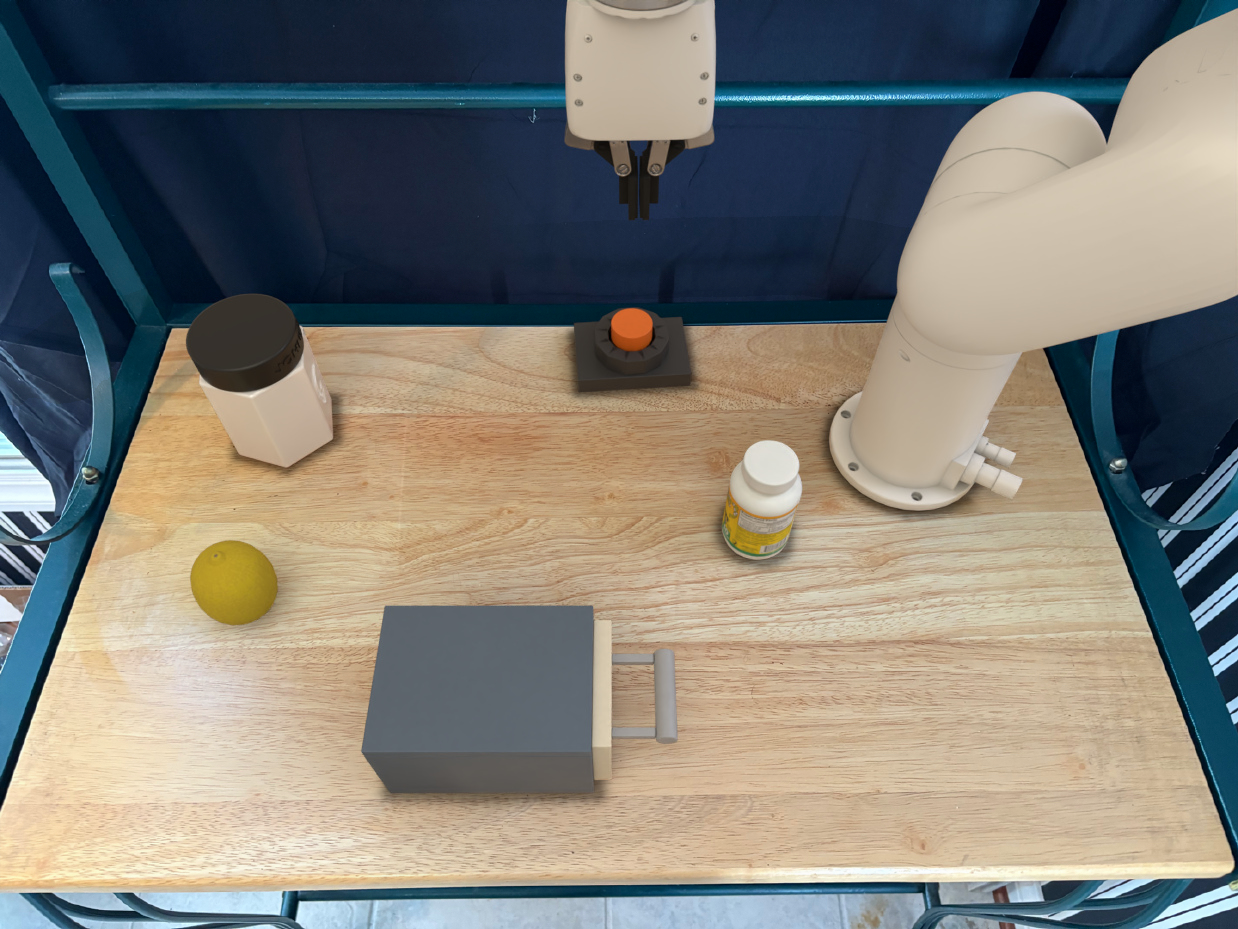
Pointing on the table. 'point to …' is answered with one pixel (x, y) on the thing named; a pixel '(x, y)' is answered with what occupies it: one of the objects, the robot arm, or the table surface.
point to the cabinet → (482, 700)
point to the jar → (261, 378)
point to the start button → (631, 329)
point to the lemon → (233, 582)
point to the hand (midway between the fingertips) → (638, 208)
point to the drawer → (602, 699)
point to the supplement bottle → (762, 500)
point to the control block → (631, 357)
